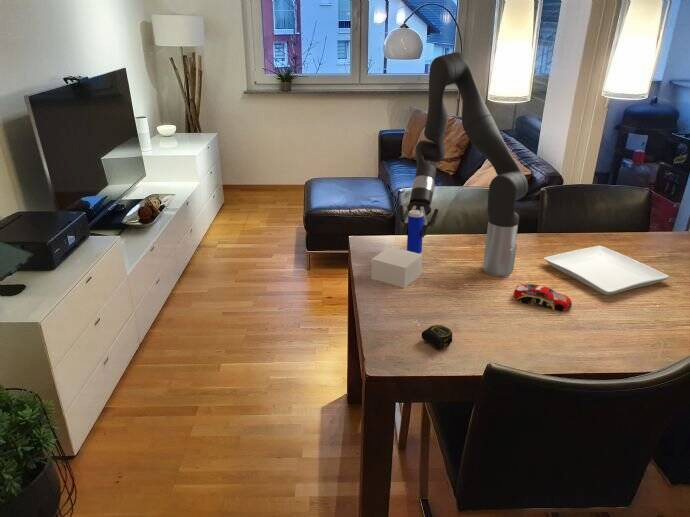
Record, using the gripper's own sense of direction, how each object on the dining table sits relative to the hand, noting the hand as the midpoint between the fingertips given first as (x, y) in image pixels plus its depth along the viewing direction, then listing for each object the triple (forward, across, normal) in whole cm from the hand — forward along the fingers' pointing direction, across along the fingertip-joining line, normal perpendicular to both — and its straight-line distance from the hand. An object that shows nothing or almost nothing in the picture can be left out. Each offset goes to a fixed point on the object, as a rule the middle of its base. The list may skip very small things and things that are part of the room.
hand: (414, 235), depth 179 cm
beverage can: (+4, 0, +6) cm, 8 cm away
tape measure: (+42, +17, -28) cm, 53 cm away
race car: (+20, +42, -5) cm, 47 cm away
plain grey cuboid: (+17, -2, -4) cm, 17 cm away
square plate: (+2, +61, +13) cm, 63 cm away
